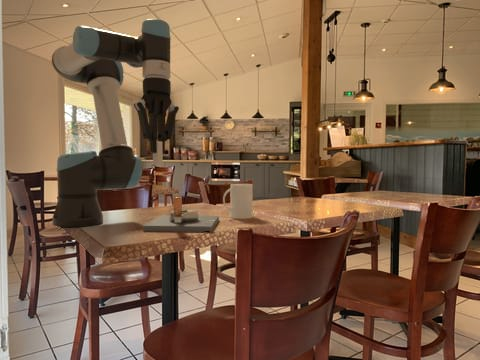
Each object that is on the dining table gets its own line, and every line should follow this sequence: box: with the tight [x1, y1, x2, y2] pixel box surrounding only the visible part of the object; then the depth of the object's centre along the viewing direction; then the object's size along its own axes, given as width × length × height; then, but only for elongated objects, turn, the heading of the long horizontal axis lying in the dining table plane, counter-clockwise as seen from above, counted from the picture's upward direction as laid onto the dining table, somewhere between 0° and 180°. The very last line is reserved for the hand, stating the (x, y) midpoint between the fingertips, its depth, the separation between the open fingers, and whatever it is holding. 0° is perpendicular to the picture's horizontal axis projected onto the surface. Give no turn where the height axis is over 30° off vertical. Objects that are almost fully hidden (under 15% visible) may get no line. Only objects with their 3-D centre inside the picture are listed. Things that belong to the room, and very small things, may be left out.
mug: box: [222, 183, 254, 220], centre depth 133 cm, size 12×8×12 cm
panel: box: [142, 214, 220, 233], centre depth 117 cm, size 20×20×2 cm
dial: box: [169, 196, 199, 223], centre depth 114 cm, size 15×9×8 cm, turn 177°
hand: (157, 164), depth 102 cm, fingers closed
